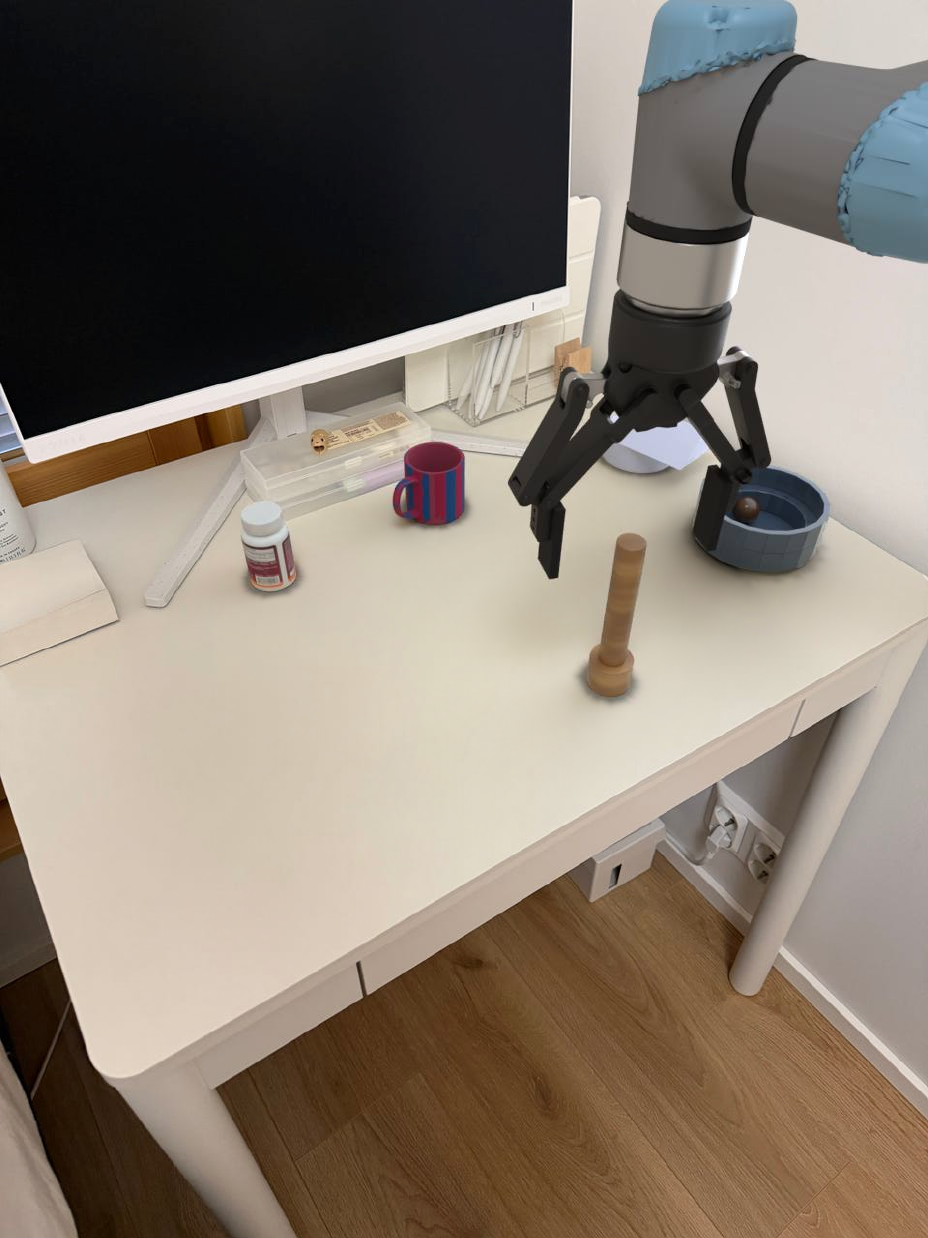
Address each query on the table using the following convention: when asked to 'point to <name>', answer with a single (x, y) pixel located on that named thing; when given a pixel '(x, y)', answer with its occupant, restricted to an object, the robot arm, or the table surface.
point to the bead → (746, 510)
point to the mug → (432, 483)
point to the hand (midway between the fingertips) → (627, 554)
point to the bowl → (774, 523)
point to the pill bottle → (267, 546)
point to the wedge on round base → (656, 449)
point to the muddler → (618, 620)
